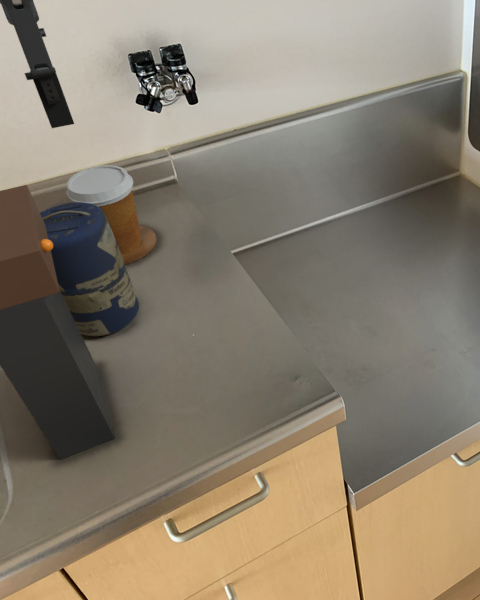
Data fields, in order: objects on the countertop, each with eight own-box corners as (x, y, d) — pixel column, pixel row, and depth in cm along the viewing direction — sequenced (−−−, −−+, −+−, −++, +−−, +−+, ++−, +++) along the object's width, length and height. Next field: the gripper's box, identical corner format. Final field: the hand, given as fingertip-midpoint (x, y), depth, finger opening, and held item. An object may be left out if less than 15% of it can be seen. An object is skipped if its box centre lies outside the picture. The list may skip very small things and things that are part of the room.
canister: (132, 340, 84) (88, 232, 72) (61, 343, 84) (5, 235, 72) (148, 294, 91) (111, 190, 79) (83, 297, 91) (36, 192, 79)
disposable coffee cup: (144, 259, 97) (121, 194, 89) (82, 262, 96) (54, 197, 88) (157, 225, 104) (137, 162, 96) (100, 228, 103) (75, 164, 96)
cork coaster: (70, 255, 99) (69, 253, 98) (121, 221, 106) (120, 218, 106) (122, 274, 95) (121, 271, 95) (170, 237, 102) (170, 234, 102)
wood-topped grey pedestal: (115, 360, 81) (36, 182, 63) (136, 430, 73) (50, 247, 55) (47, 384, 78) (-57, 203, 60) (60, 459, 70) (-57, 275, 52)
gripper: (37, -56, 63) (101, 136, 77) (15, -95, 79) (71, 69, 93) (-47, -48, 60) (36, 150, 74) (-52, -90, 76) (16, 78, 90)
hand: (55, 105), depth 83 cm, fingers open, 13 cm apart
